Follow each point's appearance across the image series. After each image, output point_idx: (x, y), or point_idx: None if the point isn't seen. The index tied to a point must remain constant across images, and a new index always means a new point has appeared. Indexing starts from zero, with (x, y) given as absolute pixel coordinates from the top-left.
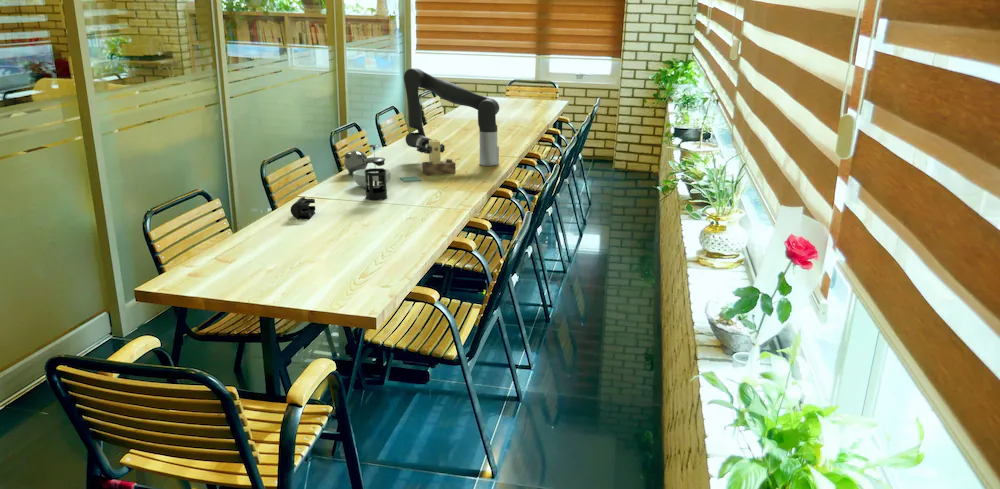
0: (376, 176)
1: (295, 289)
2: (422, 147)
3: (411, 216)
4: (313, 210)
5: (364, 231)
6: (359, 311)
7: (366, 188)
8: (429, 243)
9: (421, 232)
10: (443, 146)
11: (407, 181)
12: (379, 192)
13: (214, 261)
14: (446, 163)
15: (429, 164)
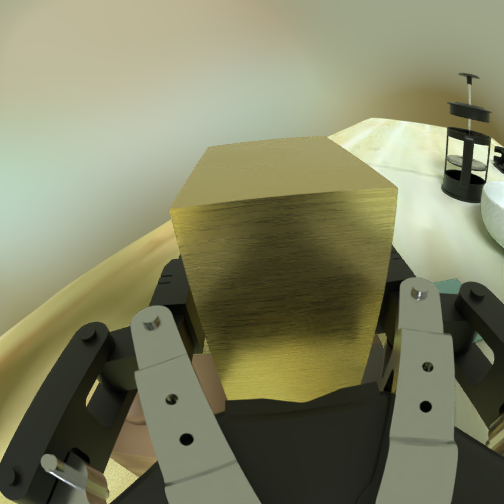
0: (497, 183)
1: (419, 125)
2: (471, 289)
3: (374, 151)
4: (501, 166)
5: (416, 143)
6: (379, 118)
7: (485, 177)
8: (348, 131)
9: (357, 137)
10: (103, 327)
11: (446, 282)
12: (466, 194)
13: (490, 143)
14: (194, 359)
15: None
